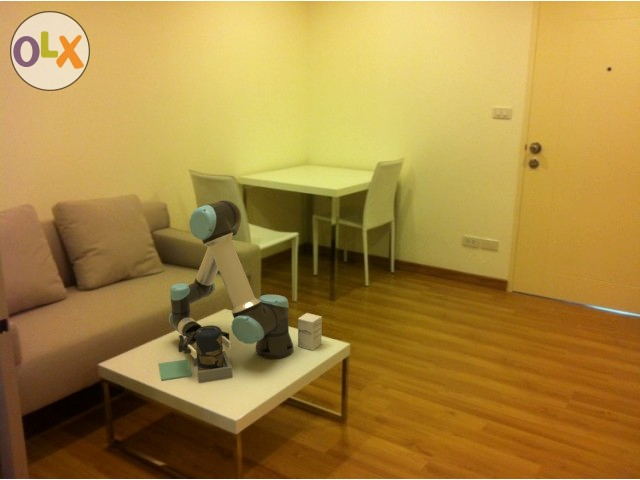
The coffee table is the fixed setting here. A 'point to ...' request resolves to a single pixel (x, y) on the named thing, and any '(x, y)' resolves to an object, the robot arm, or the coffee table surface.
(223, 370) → the frame
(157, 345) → the coffee table surface
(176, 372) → the mat
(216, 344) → the canister
